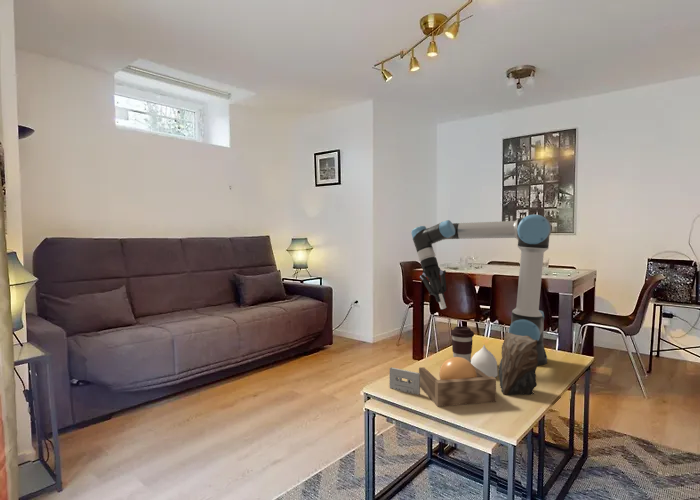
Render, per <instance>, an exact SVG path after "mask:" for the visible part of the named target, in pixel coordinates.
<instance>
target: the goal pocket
mask: <svg viewBox="0 0 700 500" xmlns="http://www.w3.org/2000/svg"><path fill="white" fill-rule="evenodd" d="M474 368H475V370H476V374H477V378H463V379H448V380H440V379H437V378H436V377H435V376H434V375H433V374H432V373H431V372H429V370H428V369H427V368H426V367H424V366H423V367H419V368H418V373H420V390H422V391H423V392H424V393H425V394H426V396H427V397H428V398H429V399H430V400H431V401H432V402H433V403H434V405H435V406H437V408H438V407H449V406H450V407H451V406H462V405H474V404H475V405H476V404H485V403H496V401H497V379H496V378H497V377H495V378H494V377H493V376H491V377H489V376H487V375H486V374H484V373H483V372H482V371H480V370H479V369H477V368H476V367H474Z"/></svg>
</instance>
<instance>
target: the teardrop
mask: <svg viewBox="0 0 700 500" xmlns="http://www.w3.org/2000/svg"><path fill="white" fill-rule="evenodd" d="M470 363H471V364H472V365H473V366H474V367H476V368H477V369H479V370H480V371H482V372H483V373H484V374H486V375H487V376H489V377H491V376H493V377H494V378H497V377H499V373H498V361H497V359H496V357H495V356H494V354H493V353H492V352H491V351H490V350H488V349H487V348H486V346H485V344H483V346H482V347H481V348H480V349H479V350H477V351H476V352H475V353H474V354H473V355H472V356H471V360H470Z"/></svg>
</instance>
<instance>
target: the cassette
mask: <svg viewBox="0 0 700 500" xmlns="http://www.w3.org/2000/svg"><path fill="white" fill-rule="evenodd" d="M402 379H405V380H402ZM406 380H407V381H406ZM392 388H393V390H394V389H395V391H399V392H405V393H408V394H412V395H420V394H421V388H420V373H419V372H415V371H411V370H406V369H401V368H397V367H390V368H389V389H392Z"/></svg>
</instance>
